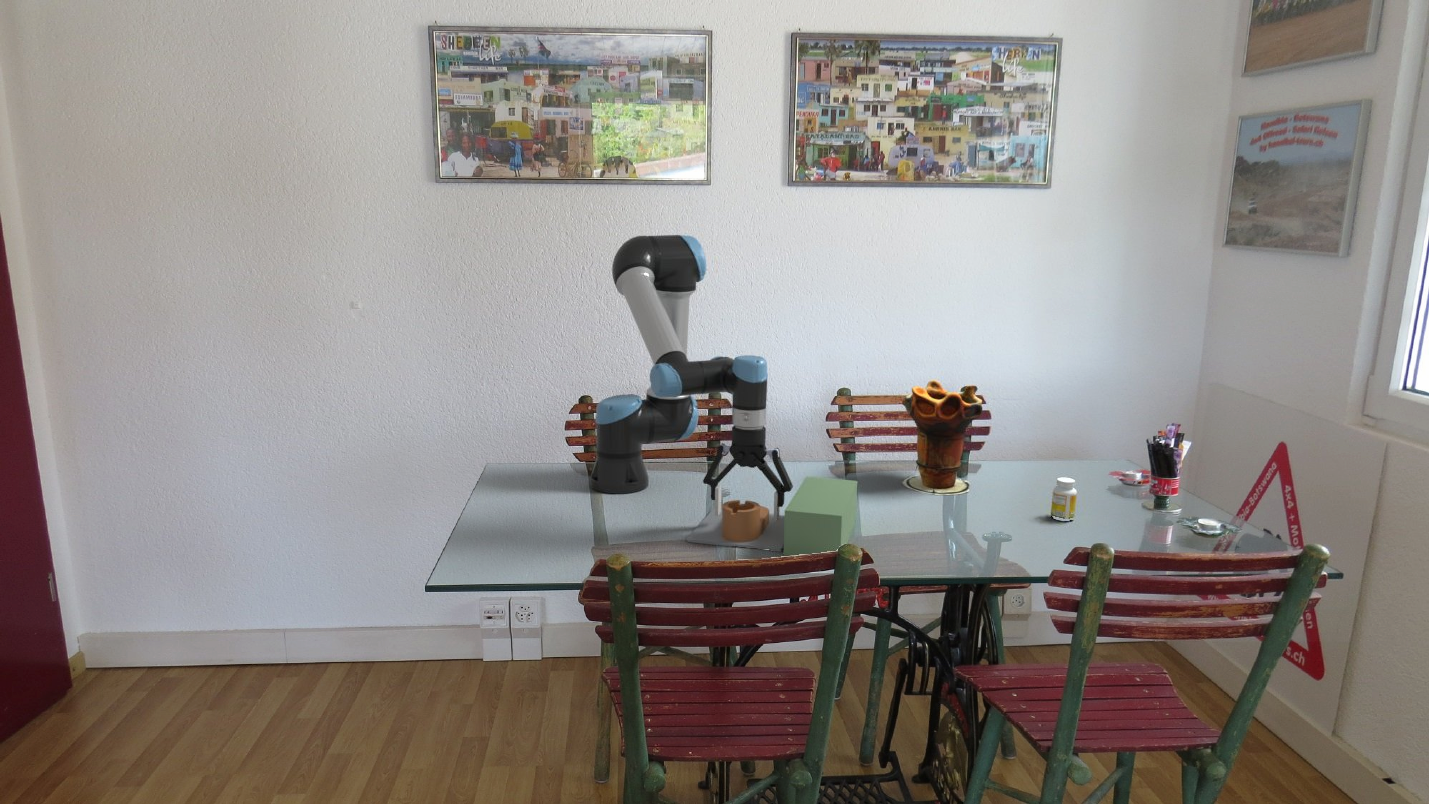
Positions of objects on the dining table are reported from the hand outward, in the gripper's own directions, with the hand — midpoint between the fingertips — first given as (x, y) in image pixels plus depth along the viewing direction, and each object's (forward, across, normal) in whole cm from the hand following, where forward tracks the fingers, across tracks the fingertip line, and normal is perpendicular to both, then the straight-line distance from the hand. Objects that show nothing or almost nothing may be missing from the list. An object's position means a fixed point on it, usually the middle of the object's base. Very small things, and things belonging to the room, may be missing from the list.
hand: (746, 516), depth 218 cm
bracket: (+3, 0, -1) cm, 3 cm away
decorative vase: (+4, +40, +49) cm, 63 cm away
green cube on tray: (+3, +6, 0) cm, 7 cm away
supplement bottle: (+3, +70, +30) cm, 76 cm away
